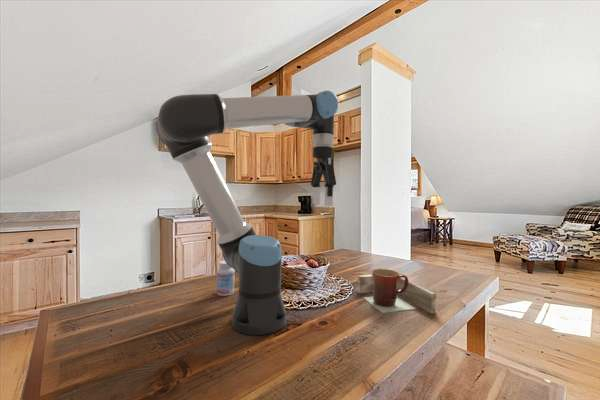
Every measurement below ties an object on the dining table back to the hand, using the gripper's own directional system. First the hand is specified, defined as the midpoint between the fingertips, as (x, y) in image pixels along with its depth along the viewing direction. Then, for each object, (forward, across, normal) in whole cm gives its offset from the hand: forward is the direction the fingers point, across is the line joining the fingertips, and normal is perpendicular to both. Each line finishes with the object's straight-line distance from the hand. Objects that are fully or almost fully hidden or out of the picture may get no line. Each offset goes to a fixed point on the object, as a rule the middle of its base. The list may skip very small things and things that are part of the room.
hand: (321, 205), depth 103 cm
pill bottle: (+32, +4, +34) cm, 47 cm away
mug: (+32, -18, -18) cm, 40 cm away
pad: (+32, -17, -18) cm, 40 cm away
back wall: (+32, -16, -28) cm, 45 cm away
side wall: (+32, -6, -20) cm, 38 cm away
